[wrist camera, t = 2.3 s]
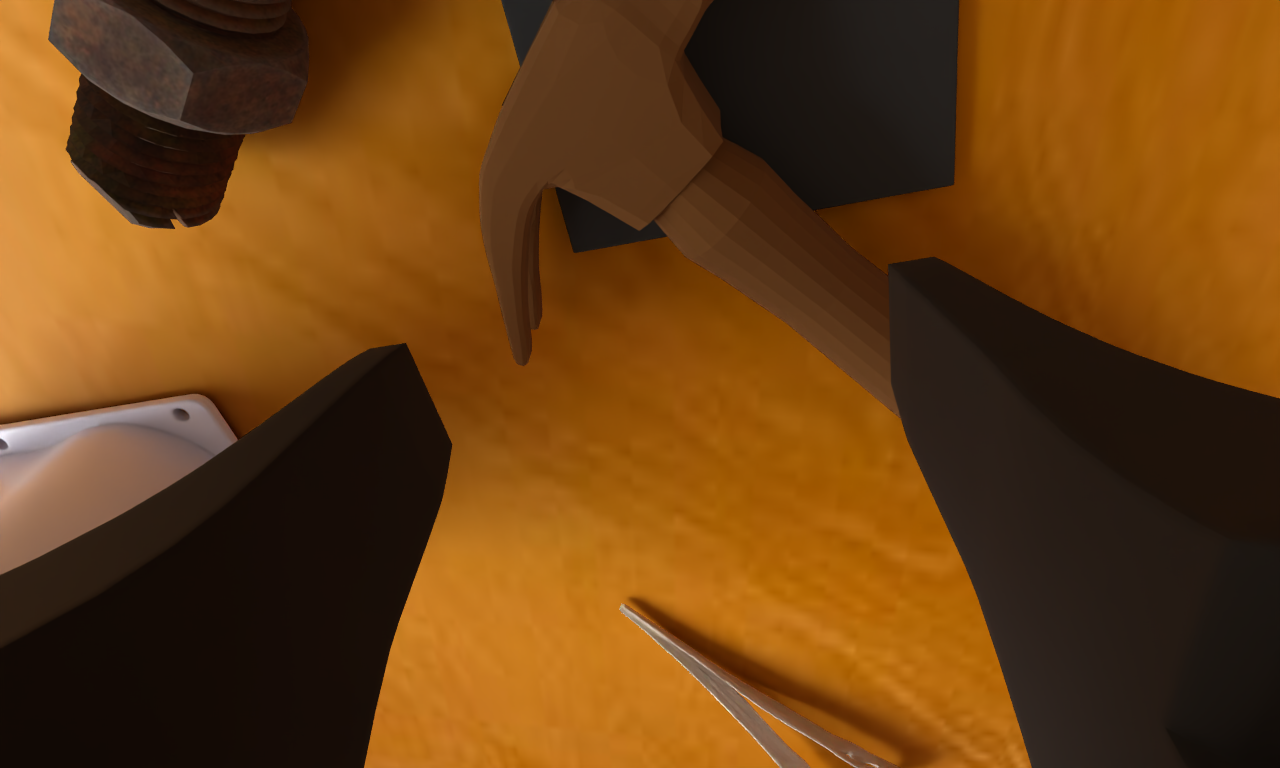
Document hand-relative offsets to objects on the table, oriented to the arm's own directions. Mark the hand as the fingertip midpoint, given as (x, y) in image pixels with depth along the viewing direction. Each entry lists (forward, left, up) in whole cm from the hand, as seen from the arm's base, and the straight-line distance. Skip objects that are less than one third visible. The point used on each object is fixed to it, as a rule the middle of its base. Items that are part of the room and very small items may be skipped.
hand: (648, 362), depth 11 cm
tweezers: (0, -24, -10) cm, 26 cm away
